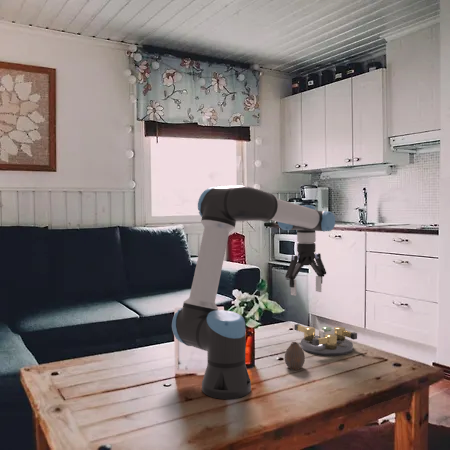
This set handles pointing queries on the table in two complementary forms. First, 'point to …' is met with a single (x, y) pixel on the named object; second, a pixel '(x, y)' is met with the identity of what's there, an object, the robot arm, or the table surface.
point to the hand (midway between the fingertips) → (306, 293)
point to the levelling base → (307, 346)
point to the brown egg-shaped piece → (294, 356)
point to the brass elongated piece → (344, 334)
